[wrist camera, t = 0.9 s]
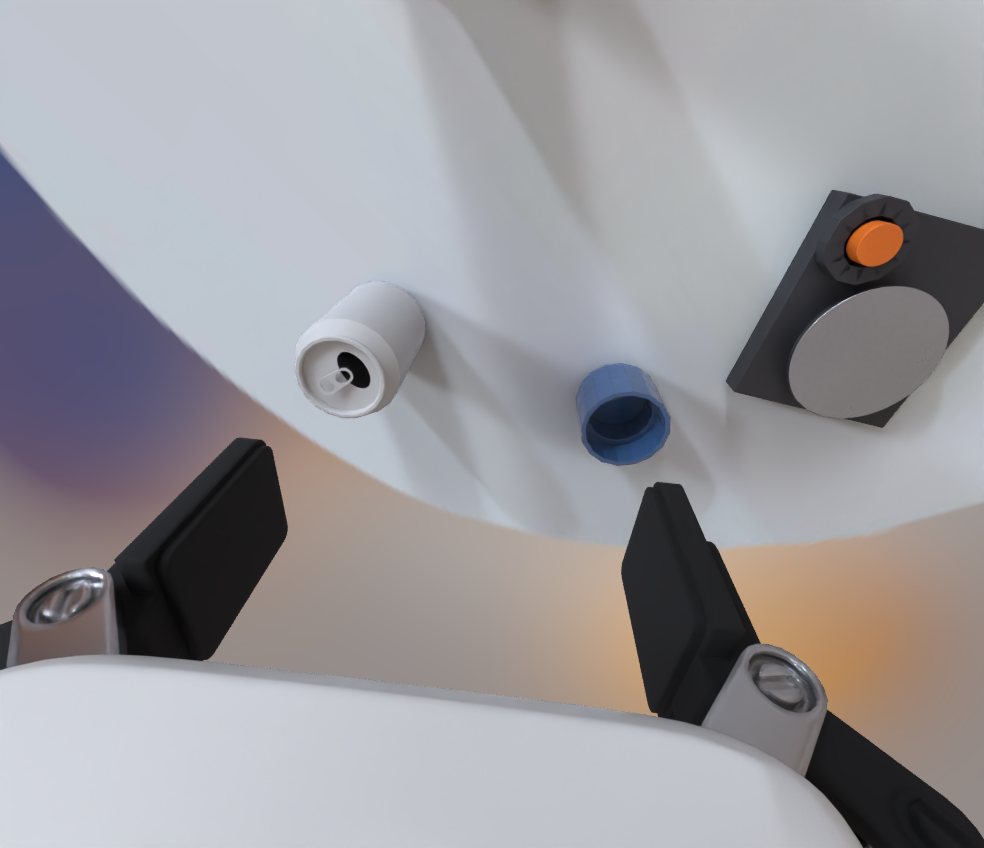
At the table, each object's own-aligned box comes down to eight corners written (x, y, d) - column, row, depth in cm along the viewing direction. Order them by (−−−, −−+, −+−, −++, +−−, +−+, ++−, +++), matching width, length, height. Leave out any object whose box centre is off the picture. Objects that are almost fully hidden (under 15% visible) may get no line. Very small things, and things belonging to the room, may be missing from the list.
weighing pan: (839, 268, 33) (843, 269, 33) (980, 304, 34) (986, 306, 34) (759, 398, 39) (762, 401, 39) (881, 428, 40) (884, 431, 39)
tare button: (862, 215, 32) (874, 218, 31) (899, 225, 32) (913, 229, 31) (837, 257, 33) (848, 261, 32) (873, 266, 34) (885, 271, 32)
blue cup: (590, 352, 42) (598, 382, 37) (666, 371, 42) (685, 403, 37) (565, 419, 46) (570, 454, 41) (636, 435, 46) (649, 473, 41)
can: (443, 338, 42) (415, 403, 32) (376, 372, 44) (330, 442, 34) (396, 262, 39) (349, 307, 29) (327, 302, 41) (260, 357, 31)
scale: (829, 183, 34) (858, 187, 31) (1010, 232, 35) (1056, 241, 32) (721, 380, 42) (736, 398, 39) (868, 416, 43) (893, 436, 40)
